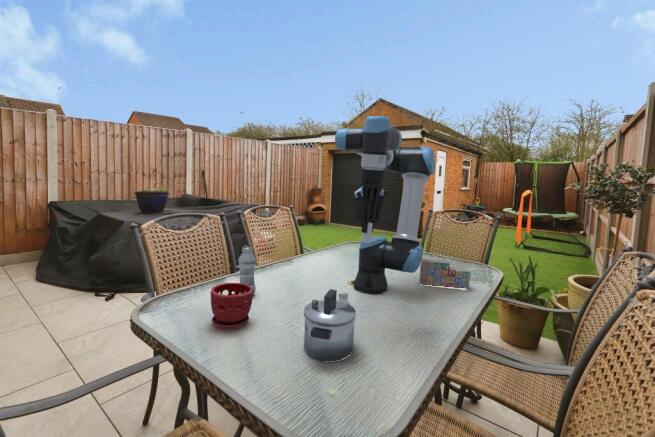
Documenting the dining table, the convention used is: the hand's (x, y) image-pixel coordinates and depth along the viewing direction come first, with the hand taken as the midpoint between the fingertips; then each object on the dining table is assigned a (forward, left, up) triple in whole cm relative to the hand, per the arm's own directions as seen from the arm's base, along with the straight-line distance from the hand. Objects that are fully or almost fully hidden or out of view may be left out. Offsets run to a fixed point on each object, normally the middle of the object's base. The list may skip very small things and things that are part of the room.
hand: (366, 242), depth 105 cm
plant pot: (+38, -19, -29) cm, 51 cm away
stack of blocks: (-58, -16, -29) cm, 67 cm away
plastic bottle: (+27, -41, -29) cm, 57 cm away
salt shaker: (+3, -7, -29) cm, 29 cm away
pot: (+17, +8, -28) cm, 34 cm away
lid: (+17, +8, -18) cm, 26 cm away
